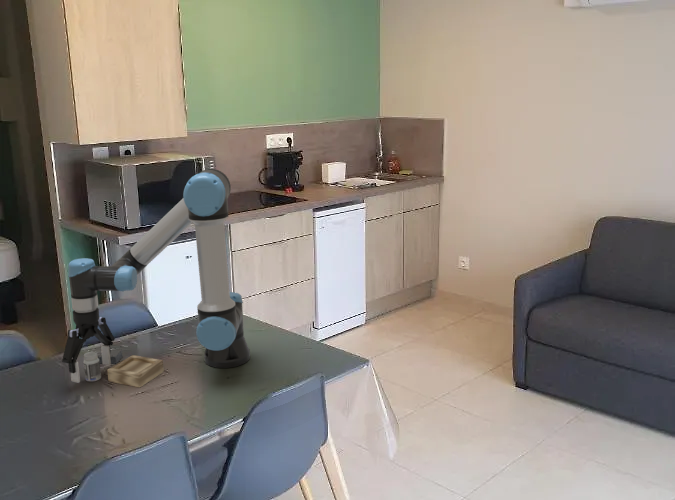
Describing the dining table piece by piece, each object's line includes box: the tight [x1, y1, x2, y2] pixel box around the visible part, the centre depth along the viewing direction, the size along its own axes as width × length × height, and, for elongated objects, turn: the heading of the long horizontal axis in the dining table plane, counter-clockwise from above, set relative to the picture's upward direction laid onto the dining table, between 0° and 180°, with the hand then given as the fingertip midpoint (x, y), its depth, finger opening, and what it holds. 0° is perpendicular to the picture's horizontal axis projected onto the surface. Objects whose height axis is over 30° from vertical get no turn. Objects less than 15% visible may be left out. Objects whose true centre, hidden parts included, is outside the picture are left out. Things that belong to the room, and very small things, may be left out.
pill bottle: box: [82, 351, 102, 382], centre depth 202 cm, size 5×5×8 cm
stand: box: [106, 354, 165, 388], centre depth 204 cm, size 12×12×4 cm
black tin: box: [98, 349, 124, 365], centre depth 216 cm, size 6×6×3 cm
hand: (91, 372), depth 203 cm, fingers open, 13 cm apart
